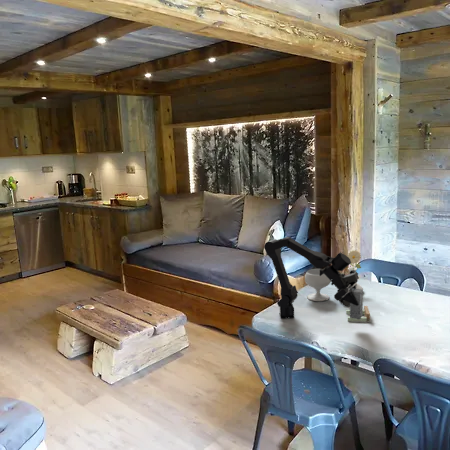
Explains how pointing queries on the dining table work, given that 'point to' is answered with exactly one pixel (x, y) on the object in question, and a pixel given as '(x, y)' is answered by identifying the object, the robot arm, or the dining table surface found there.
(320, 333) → the dining table surface
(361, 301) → the block
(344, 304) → the phone stand
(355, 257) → the flower in vase
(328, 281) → the chalice
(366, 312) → the keeper
